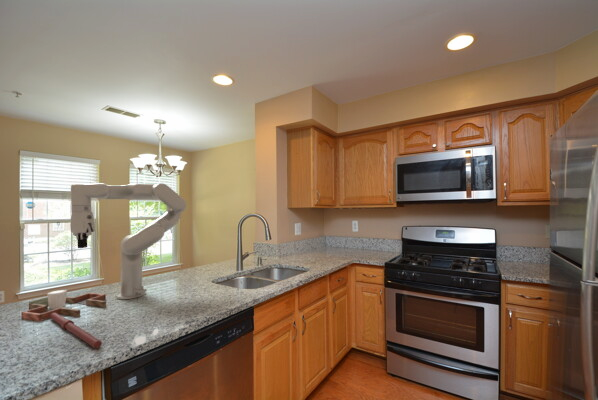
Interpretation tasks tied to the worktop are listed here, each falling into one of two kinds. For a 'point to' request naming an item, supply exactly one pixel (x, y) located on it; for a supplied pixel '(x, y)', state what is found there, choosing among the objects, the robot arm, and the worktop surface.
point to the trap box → (40, 307)
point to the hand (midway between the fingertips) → (82, 247)
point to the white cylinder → (57, 299)
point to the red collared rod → (76, 330)
